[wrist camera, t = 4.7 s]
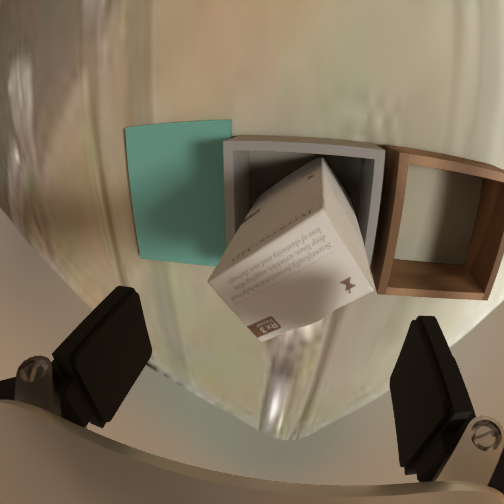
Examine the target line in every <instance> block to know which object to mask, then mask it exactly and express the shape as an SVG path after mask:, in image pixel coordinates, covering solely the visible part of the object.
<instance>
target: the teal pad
mask: <svg viewBox="0 0 504 504" xmlns="http://www.w3.org/2000/svg"><path fill="white" fill-rule="evenodd" d="M125 135H126V149H127V161H128V171H129V181H130V190H131V198H132V206H133V214H134V221H135V228H136V234H137V241H138V247H139V253H140V258H142V259H151V260H160V261H169V262H178V263H188V264H197V265H207V266H217V265H218V263H219V261H220V259H221V258H222V256H223V254H224V252H225V251H226V249H227V245H226V220H225V191H224V156H223V141H224V140H227V139H231V138H232V120H206V121H188V122H174V123H162V124H152V125H142V126H134V127H127V128H125Z"/></svg>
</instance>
